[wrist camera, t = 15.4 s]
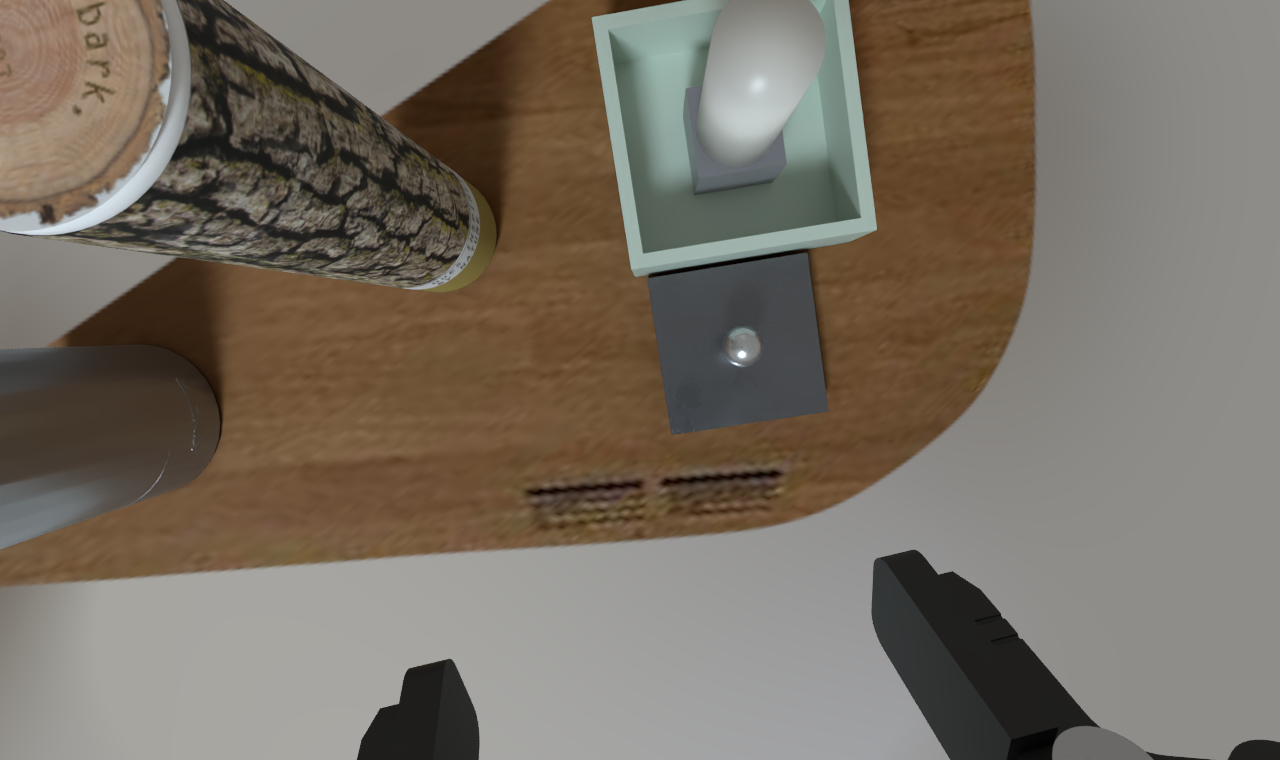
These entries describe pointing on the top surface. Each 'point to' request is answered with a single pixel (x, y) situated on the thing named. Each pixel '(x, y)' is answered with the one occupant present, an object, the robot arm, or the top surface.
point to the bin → (658, 156)
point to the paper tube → (217, 150)
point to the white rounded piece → (750, 91)
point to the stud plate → (718, 314)
